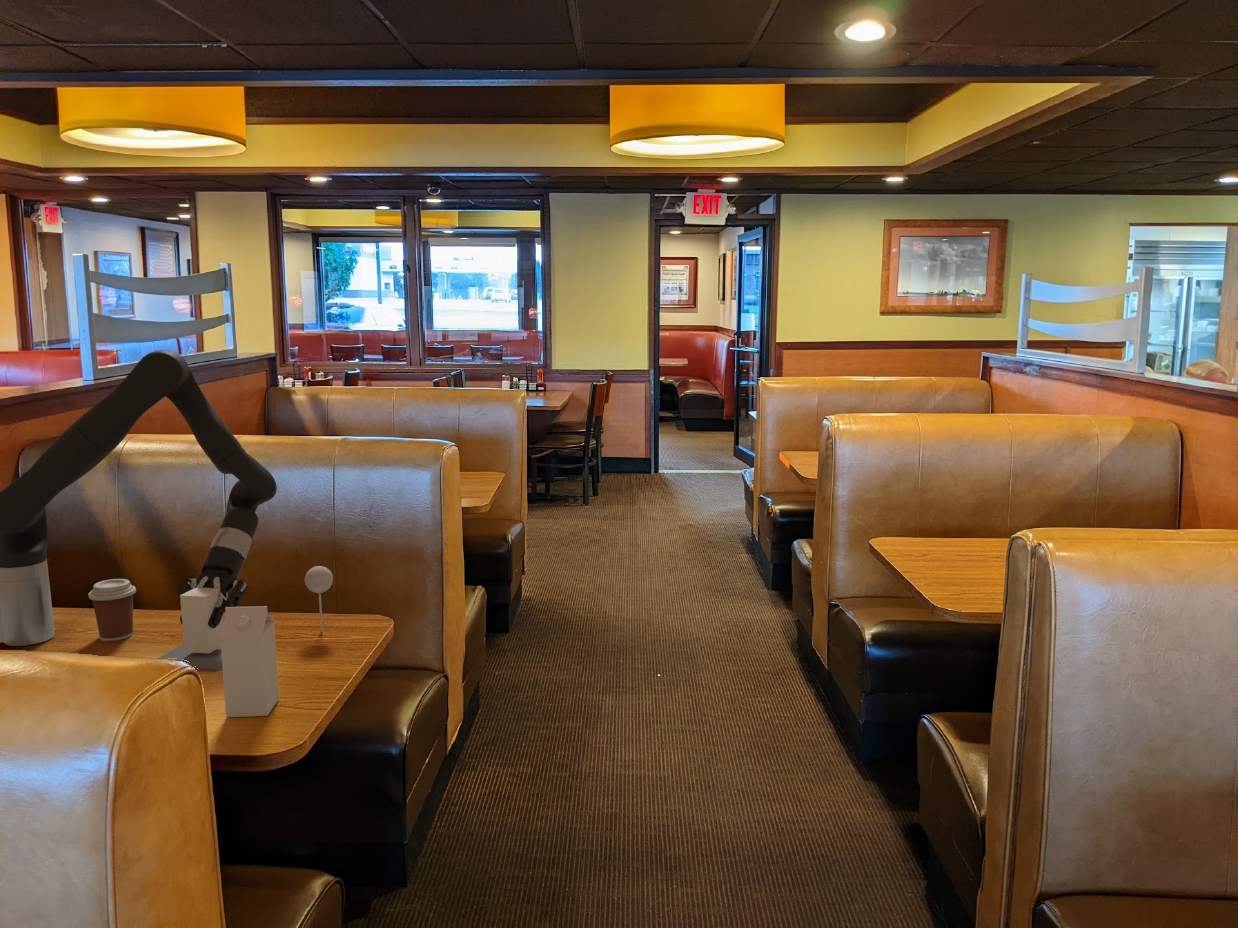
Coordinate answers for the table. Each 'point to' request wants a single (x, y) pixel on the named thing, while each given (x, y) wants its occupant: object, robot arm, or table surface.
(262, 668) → the milk carton
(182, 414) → the robot arm
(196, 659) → the mat
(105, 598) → the coffee cup
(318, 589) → the lollipop
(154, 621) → the table surface
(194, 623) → the block
